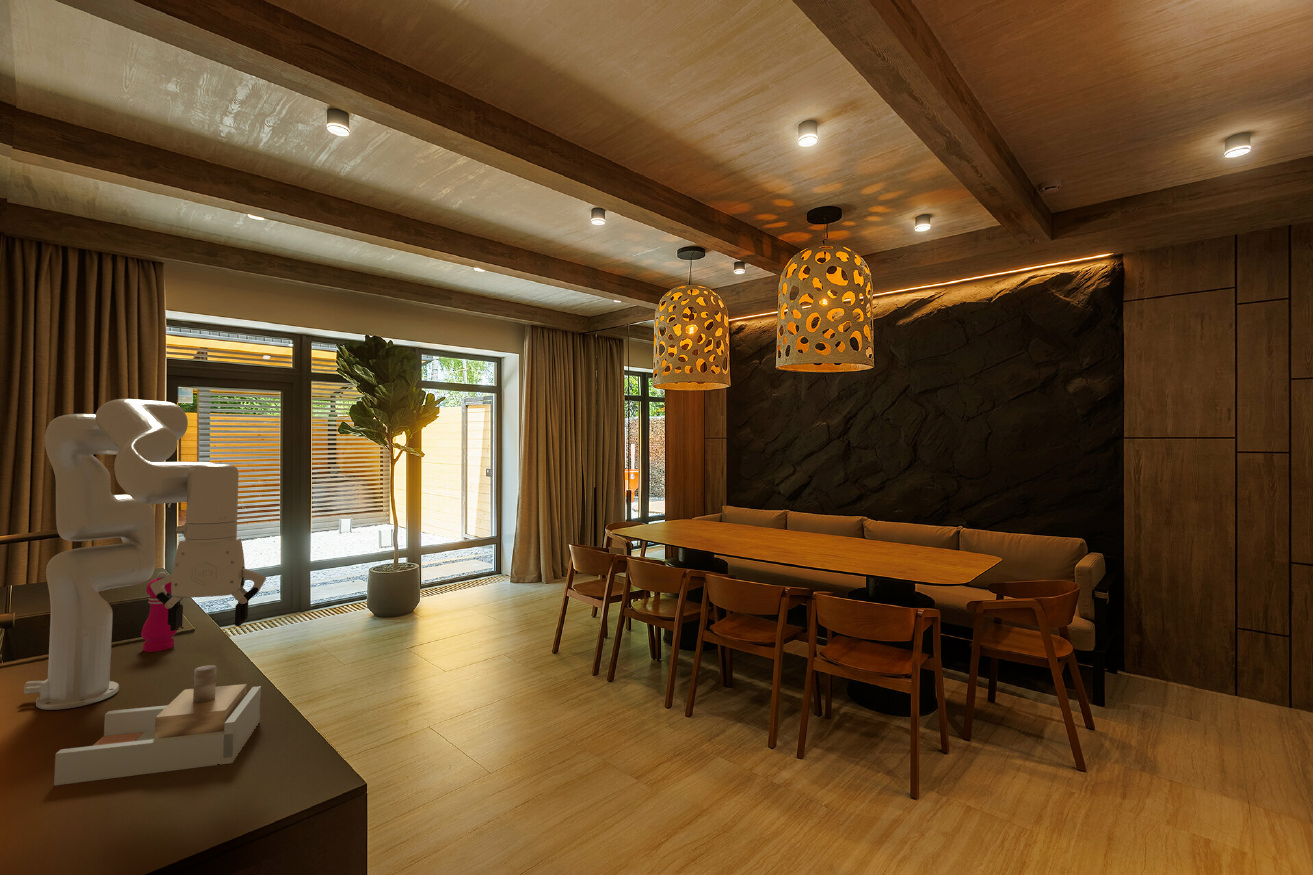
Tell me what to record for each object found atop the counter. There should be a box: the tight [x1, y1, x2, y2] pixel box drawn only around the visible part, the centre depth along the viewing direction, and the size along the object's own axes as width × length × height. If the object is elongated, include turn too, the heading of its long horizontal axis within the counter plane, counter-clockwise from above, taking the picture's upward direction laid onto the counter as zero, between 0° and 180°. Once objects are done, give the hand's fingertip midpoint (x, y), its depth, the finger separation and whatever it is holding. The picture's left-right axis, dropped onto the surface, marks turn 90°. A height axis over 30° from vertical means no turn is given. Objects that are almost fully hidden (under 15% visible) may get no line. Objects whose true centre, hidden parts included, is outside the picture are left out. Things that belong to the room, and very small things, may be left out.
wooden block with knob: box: [154, 664, 248, 739], centre depth 108 cm, size 10×12×13 cm
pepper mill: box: [140, 571, 178, 653], centre depth 157 cm, size 7×7×20 cm
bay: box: [53, 685, 262, 786], centre depth 106 cm, size 24×16×7 cm, turn 110°
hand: (208, 626), depth 108 cm, fingers open, 9 cm apart
